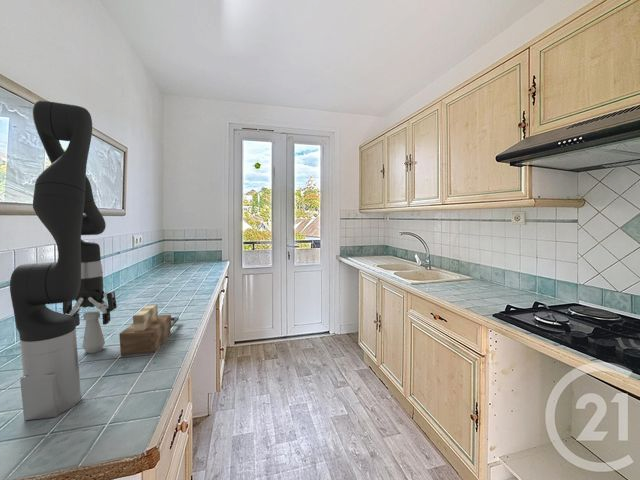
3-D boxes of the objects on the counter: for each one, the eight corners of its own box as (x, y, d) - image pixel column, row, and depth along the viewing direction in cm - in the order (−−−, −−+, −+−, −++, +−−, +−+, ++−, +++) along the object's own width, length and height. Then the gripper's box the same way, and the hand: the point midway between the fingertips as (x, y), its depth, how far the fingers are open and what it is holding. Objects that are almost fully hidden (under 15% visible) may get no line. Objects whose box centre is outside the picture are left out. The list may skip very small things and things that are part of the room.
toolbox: (155, 352, 93) (154, 334, 93) (120, 355, 92) (119, 336, 91) (170, 334, 108) (169, 318, 107) (141, 336, 106) (140, 320, 106)
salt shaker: (93, 355, 92) (90, 315, 91) (78, 354, 93) (75, 314, 92) (109, 347, 97) (107, 309, 96) (95, 346, 99) (92, 308, 98)
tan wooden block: (154, 346, 93) (153, 316, 92) (120, 349, 91) (118, 318, 91) (178, 319, 118) (177, 295, 117) (152, 321, 116) (150, 296, 115)
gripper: (54, 278, 88) (58, 330, 89) (106, 276, 91) (109, 327, 92) (70, 274, 96) (74, 322, 97) (118, 272, 98) (121, 319, 99)
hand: (91, 324), depth 94 cm, fingers open, 8 cm apart
